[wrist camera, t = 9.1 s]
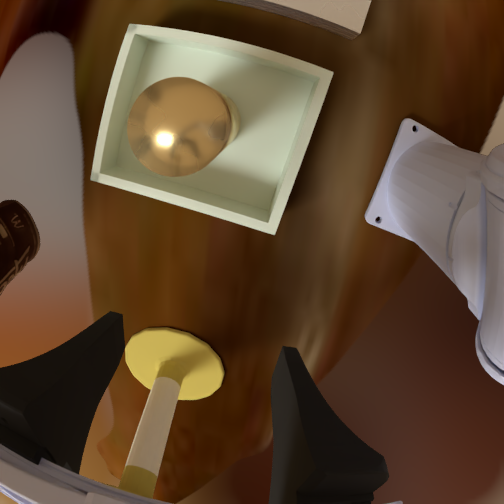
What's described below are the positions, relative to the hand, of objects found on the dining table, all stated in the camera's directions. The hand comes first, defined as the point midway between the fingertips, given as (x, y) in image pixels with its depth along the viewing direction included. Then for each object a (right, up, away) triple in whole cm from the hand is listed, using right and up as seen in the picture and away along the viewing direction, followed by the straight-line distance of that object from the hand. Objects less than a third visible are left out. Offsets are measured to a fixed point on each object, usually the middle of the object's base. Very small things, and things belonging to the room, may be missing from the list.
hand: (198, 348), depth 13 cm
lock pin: (0, +12, +5) cm, 13 cm away
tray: (0, +13, +6) cm, 14 cm away
